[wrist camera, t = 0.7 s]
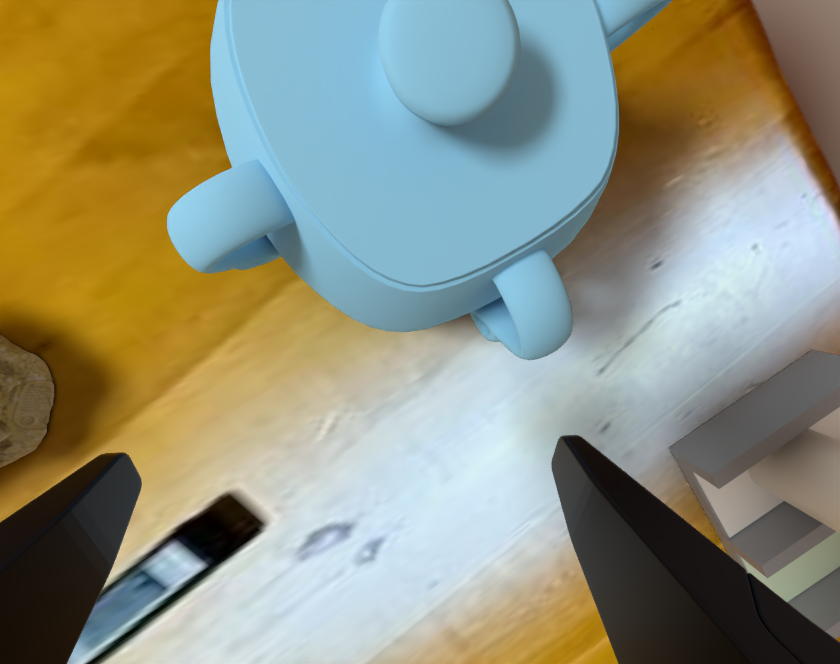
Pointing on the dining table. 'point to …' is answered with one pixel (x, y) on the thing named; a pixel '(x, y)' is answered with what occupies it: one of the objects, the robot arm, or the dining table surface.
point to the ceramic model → (22, 401)
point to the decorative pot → (413, 154)
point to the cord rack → (756, 507)
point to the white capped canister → (805, 475)
